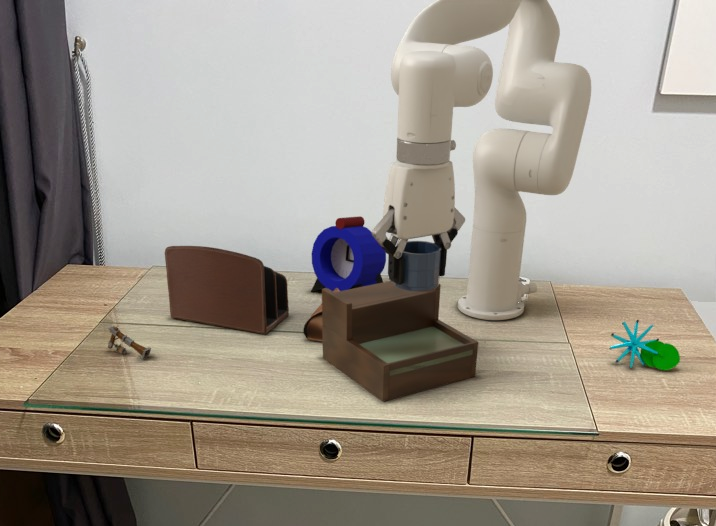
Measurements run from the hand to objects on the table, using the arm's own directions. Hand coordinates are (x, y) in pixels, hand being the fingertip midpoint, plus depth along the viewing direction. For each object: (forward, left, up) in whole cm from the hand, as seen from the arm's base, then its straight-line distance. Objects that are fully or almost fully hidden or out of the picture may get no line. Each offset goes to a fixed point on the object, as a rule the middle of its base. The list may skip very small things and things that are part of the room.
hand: (416, 276), depth 132 cm
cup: (0, 0, -1) cm, 1 cm away
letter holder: (+15, -38, -17) cm, 44 cm away
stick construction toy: (-37, +15, -17) cm, 43 cm away
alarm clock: (-12, -39, -17) cm, 44 cm away
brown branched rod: (+37, -31, -17) cm, 51 cm away
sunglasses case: (-1, -25, -17) cm, 30 cm away
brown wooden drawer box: (0, -4, -17) cm, 17 cm away
